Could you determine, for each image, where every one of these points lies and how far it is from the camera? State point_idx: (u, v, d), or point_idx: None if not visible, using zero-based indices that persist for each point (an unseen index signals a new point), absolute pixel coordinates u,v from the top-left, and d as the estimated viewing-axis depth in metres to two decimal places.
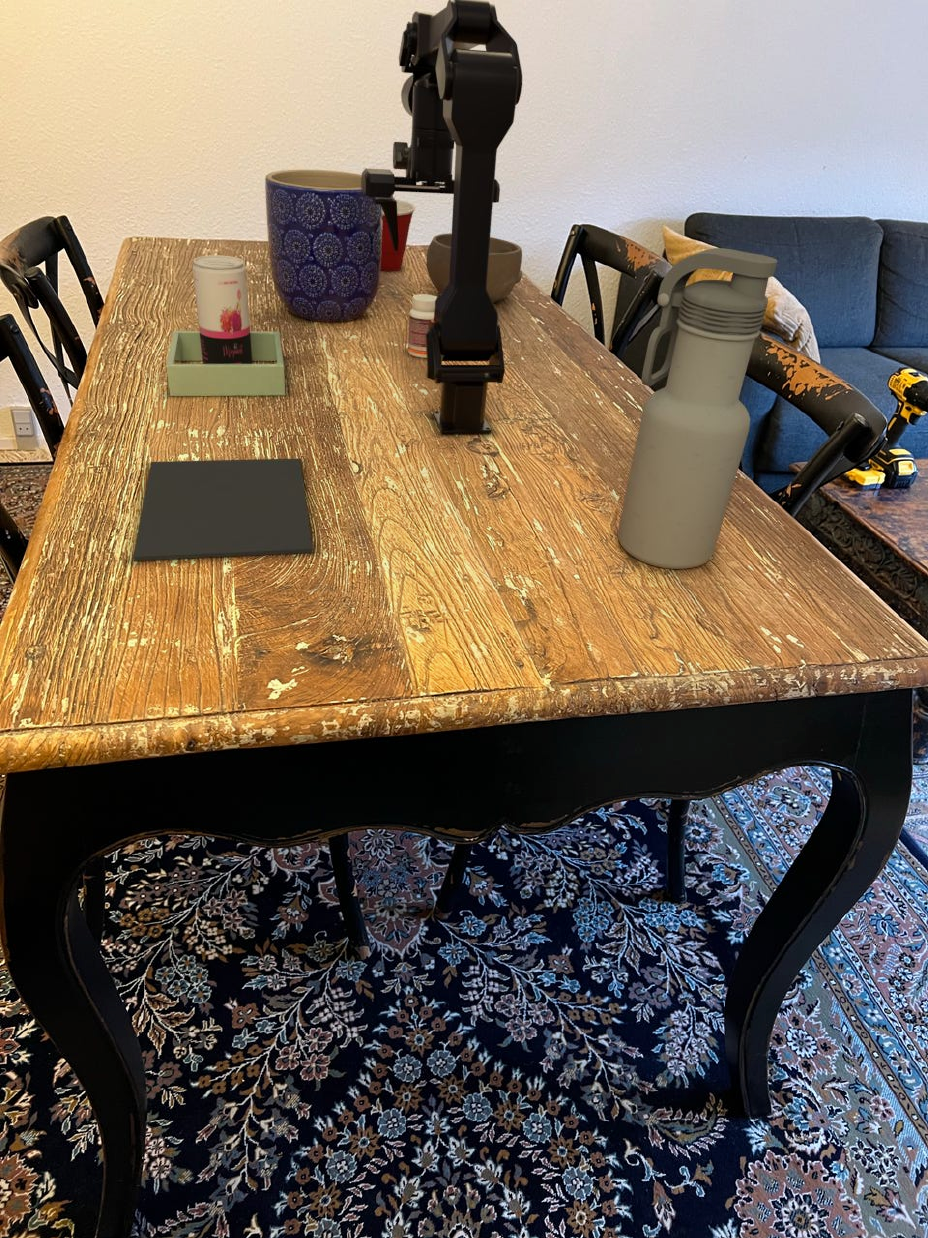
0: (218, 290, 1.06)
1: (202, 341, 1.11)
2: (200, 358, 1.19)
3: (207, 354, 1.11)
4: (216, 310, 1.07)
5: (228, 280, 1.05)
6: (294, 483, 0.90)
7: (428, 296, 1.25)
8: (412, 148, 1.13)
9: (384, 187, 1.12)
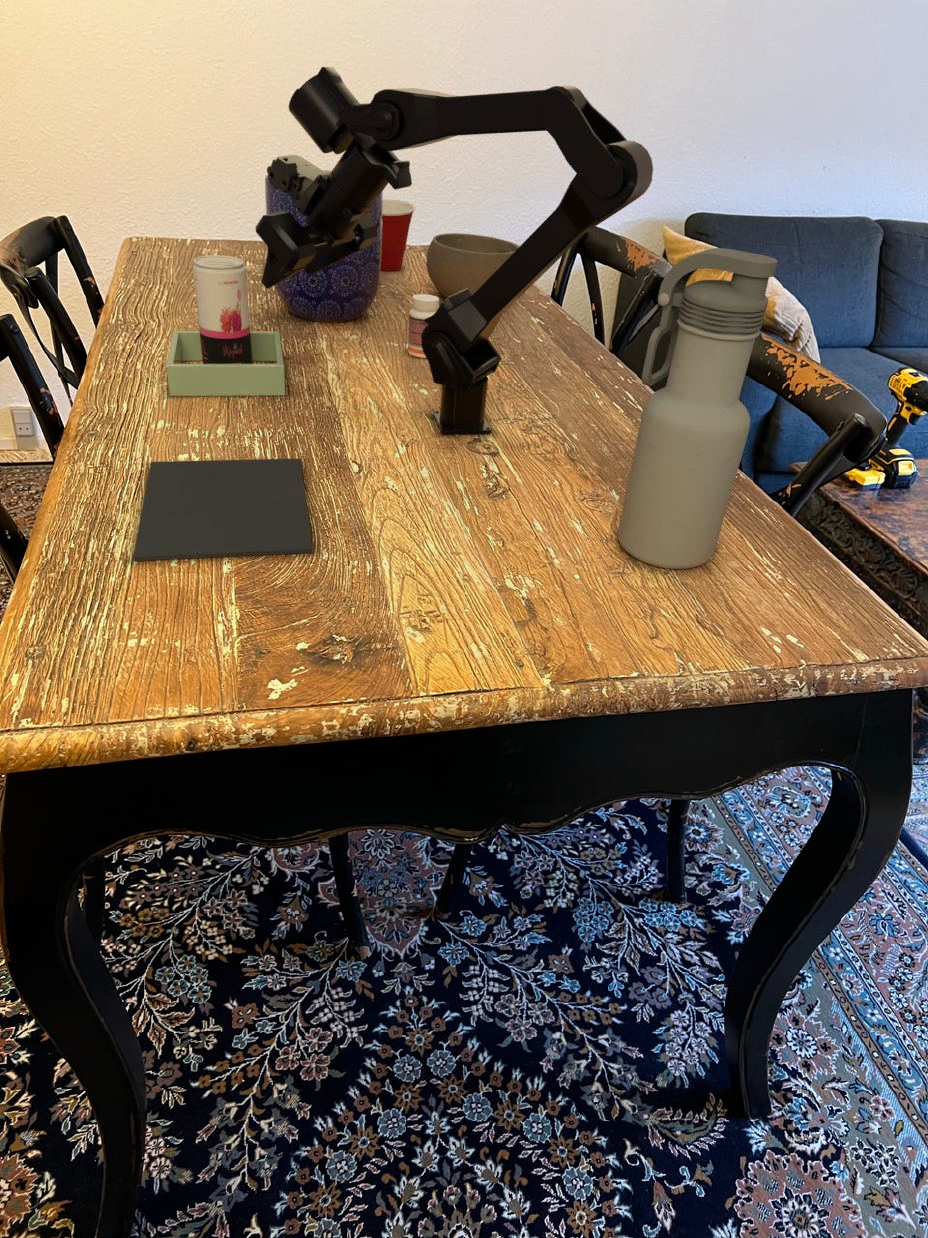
0: (218, 290, 1.06)
1: (202, 341, 1.11)
2: (200, 358, 1.19)
3: (207, 353, 1.11)
4: (216, 310, 1.07)
5: (228, 280, 1.05)
6: (294, 483, 0.90)
7: (428, 296, 1.25)
8: (331, 208, 0.97)
9: (306, 260, 0.98)
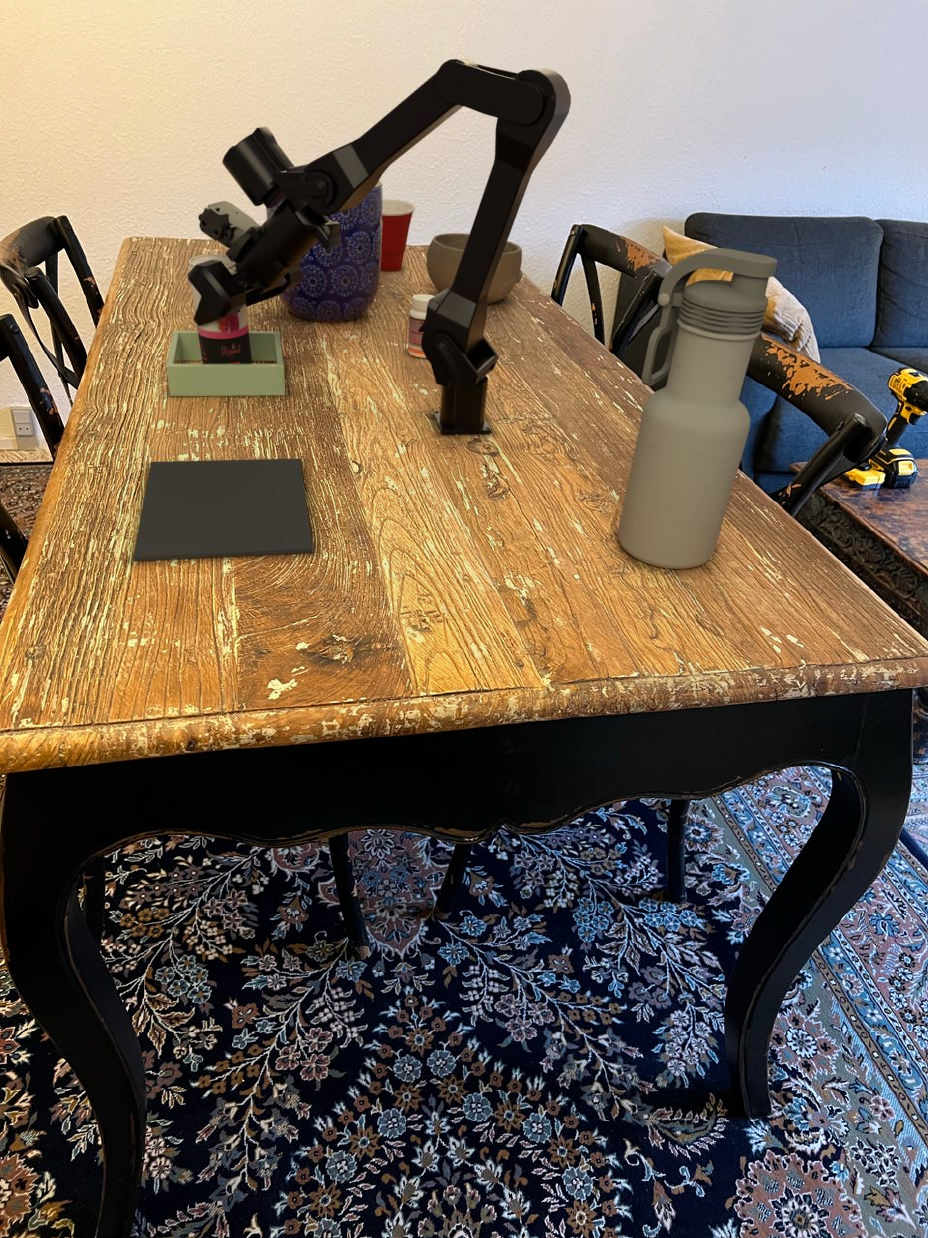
0: None
1: (200, 341, 1.10)
2: (200, 358, 1.19)
3: (206, 354, 1.11)
4: None
5: None
6: (294, 483, 0.90)
7: (428, 296, 1.25)
8: (262, 260, 1.02)
9: (237, 308, 1.02)
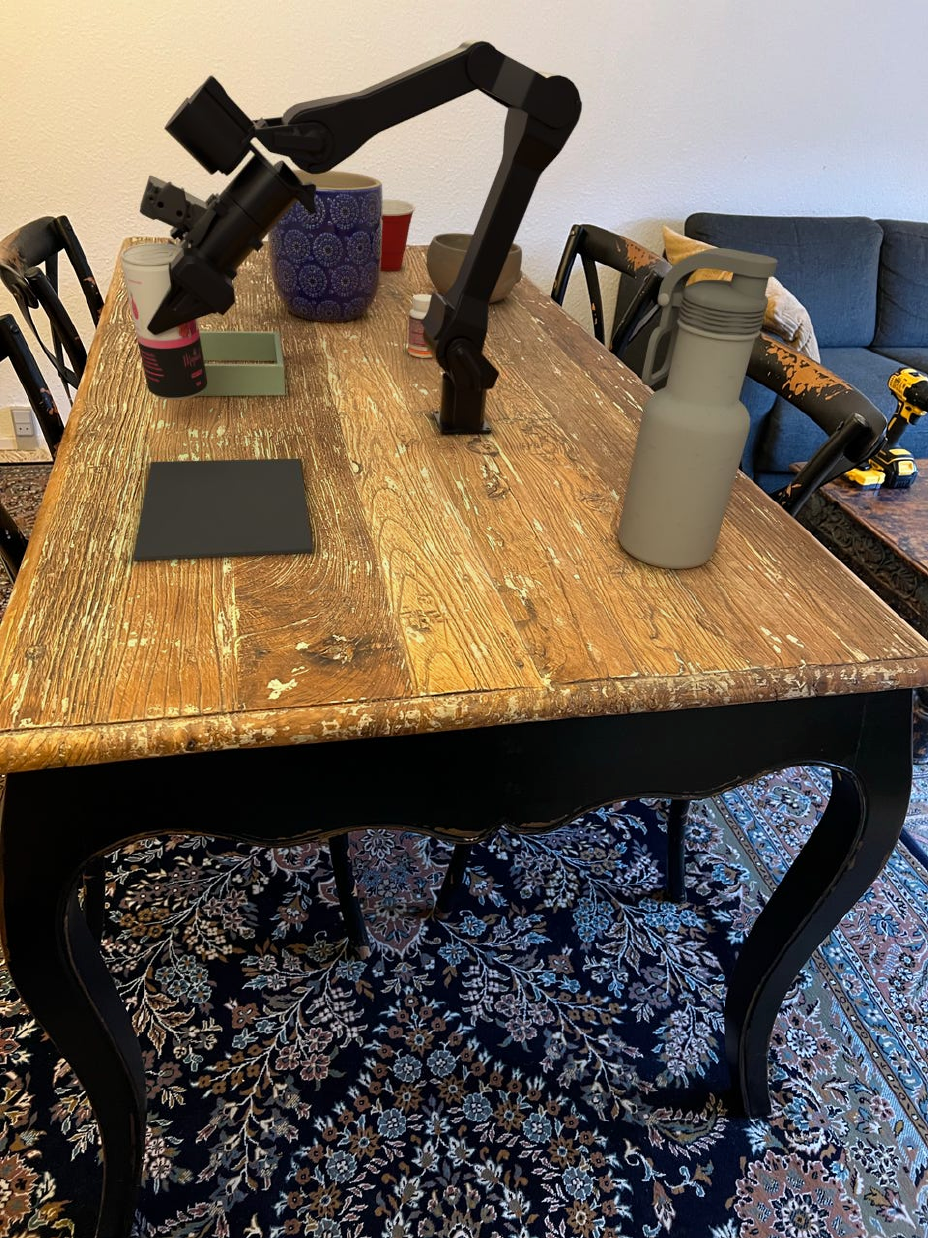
0: None
1: (151, 356, 0.90)
2: None
3: (163, 369, 0.91)
4: None
5: None
6: (294, 483, 0.90)
7: (428, 296, 1.25)
8: (236, 238, 0.85)
9: None
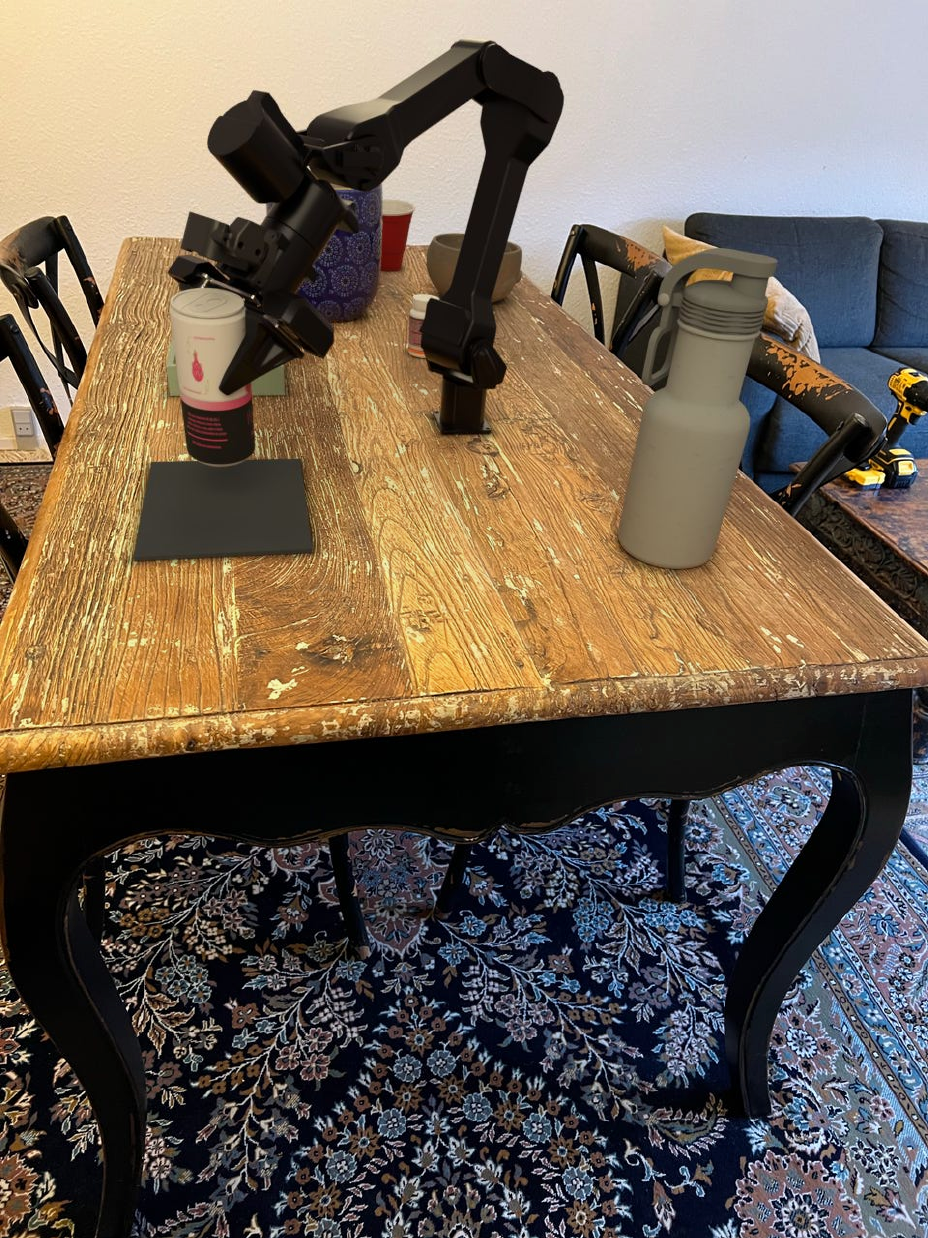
0: None
1: (215, 420, 0.77)
2: None
3: (228, 433, 0.79)
4: None
5: None
6: (294, 483, 0.90)
7: (428, 296, 1.25)
8: (298, 272, 0.76)
9: None
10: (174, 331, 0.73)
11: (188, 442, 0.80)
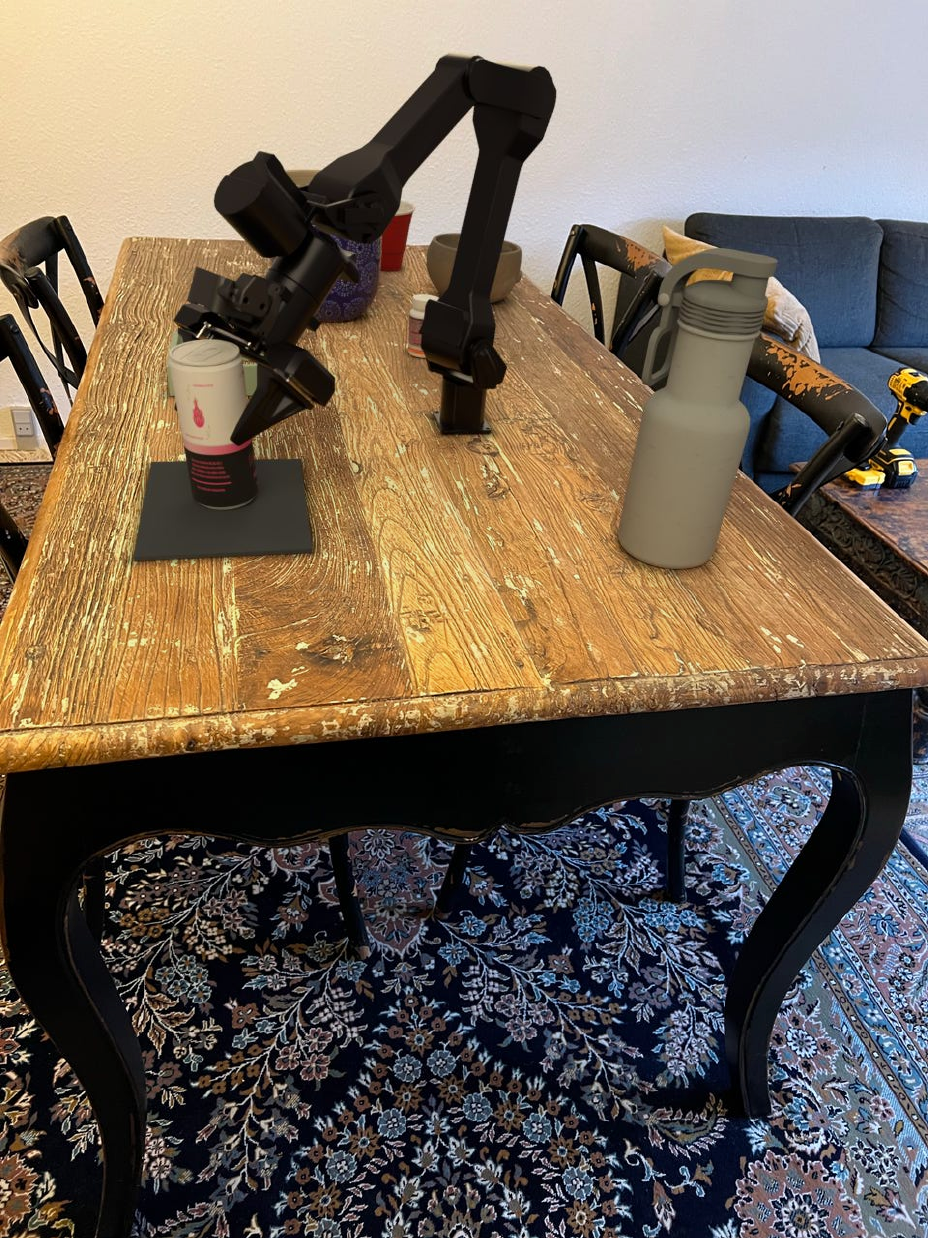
0: (240, 386, 0.78)
1: (218, 464, 0.80)
2: None
3: (231, 475, 0.81)
4: (240, 412, 0.79)
5: (243, 368, 0.78)
6: (294, 483, 0.90)
7: (428, 296, 1.25)
8: (300, 322, 0.79)
9: None
10: (174, 381, 0.76)
11: (193, 488, 0.83)
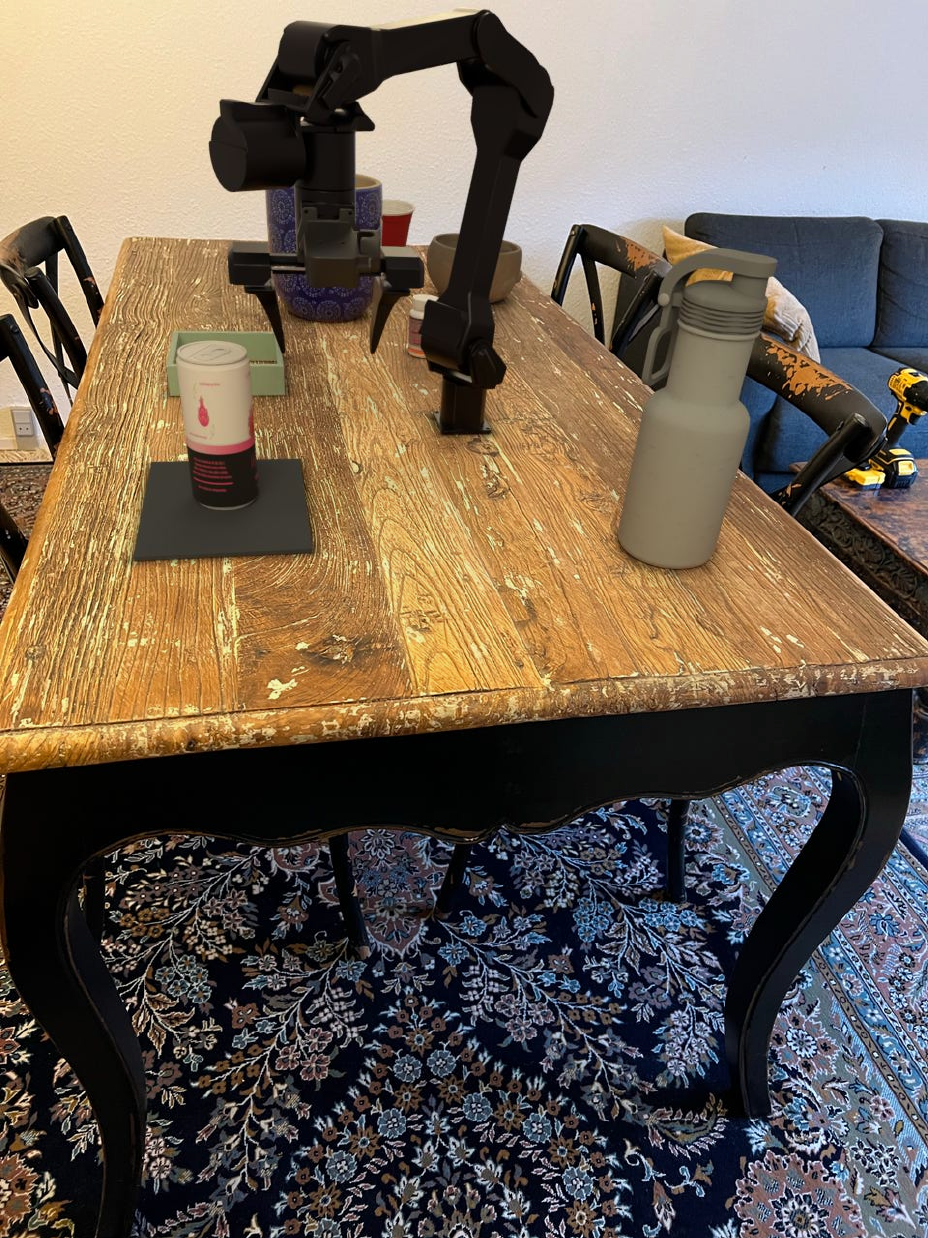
0: (246, 387, 0.78)
1: (220, 464, 0.80)
2: None
3: (233, 476, 0.82)
4: (245, 413, 0.79)
5: (249, 369, 0.79)
6: (294, 483, 0.90)
7: (428, 296, 1.25)
8: None
9: None
10: (181, 379, 0.77)
11: (194, 488, 0.83)
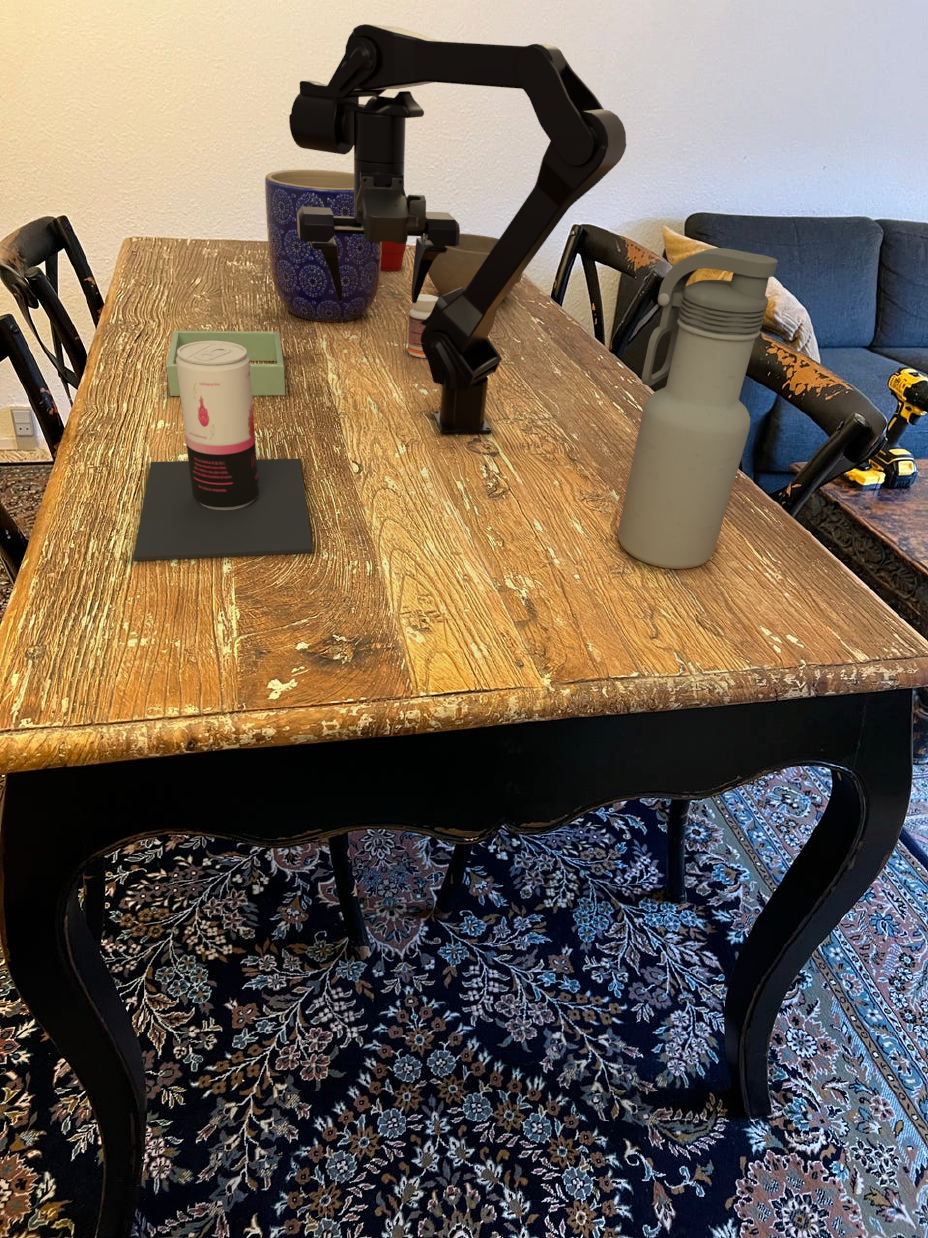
0: (246, 387, 0.78)
1: (220, 464, 0.80)
2: None
3: (233, 476, 0.82)
4: (245, 413, 0.79)
5: (249, 369, 0.79)
6: (294, 483, 0.90)
7: (428, 296, 1.25)
8: None
9: None
10: (181, 379, 0.77)
11: (194, 488, 0.83)
